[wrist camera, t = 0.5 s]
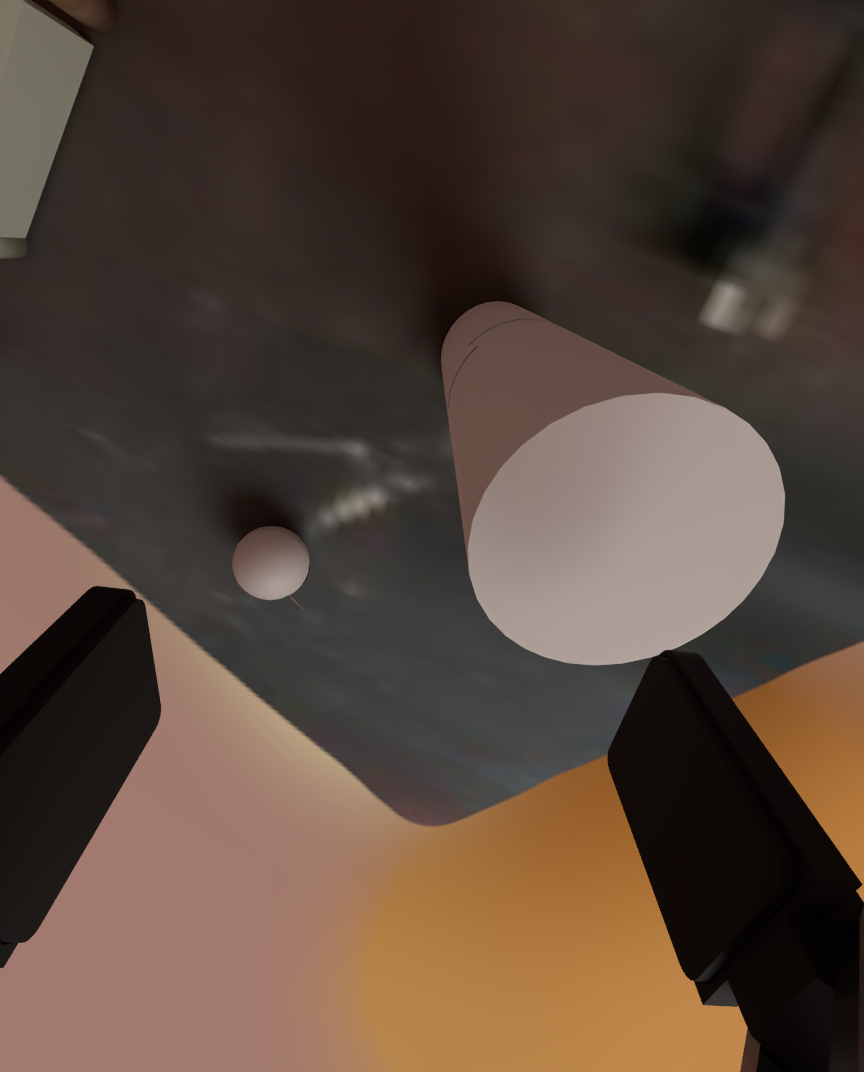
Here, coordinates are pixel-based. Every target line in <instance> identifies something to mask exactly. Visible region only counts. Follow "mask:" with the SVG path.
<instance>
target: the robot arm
mask: <svg viewBox="0 0 864 1072" xmlns="http://www.w3.org/2000/svg"><path fill="white" fill-rule="evenodd" d="M160 715H161V703H160V697H159V690H158V684H157V677H156V671H155V665H154V658H153V652H152V646H151V639H150V633H149V626H148V620H147V614H146V607H145V603H144V602H143V600H140V599H136V596H135V594H134V592H133V591H131V590H128V589H119V588H110V587H101V586H95V587H92V588H91V589H89V590H88V591H87V592H86V593H85V594H83V595H82V596H81V597H80V598H79V599H78V600H77V601H76V602H75V603H74V604H73V605H72V606H71V607H70V608H69V609H68V610H67V611H66V612H65V613H64V614H63V615H62V616H61V617H60V618H58V619H57V620H56V621H55V622H54V623H53V624H52V625H51V626H50V627H49V628H48V629H47V630H46V631H45V632H44V633H43V634H42V635H41V636H40V637H39V638H38V639H37V640H36V641H34V642H33V643H32V644H31V645H30V646H29V647H28V648H27V649H26V650H25V651H24V652H23V653H22V654H21V655H20V656H19V657H18V658H17V659H16V660H15V661H14V662H12V663H11V664H10V665H9V666H8V667H7V668H6V669H5V670H4V671H3V672H2V673H1V674H0V968H3V967H4V966H5V964H6V963H7V961H8V959H9V958H10V956H11V954H12V953H13V951H14V949H15V948H16V946H17V944H18V943H23V942H26V941H28V940H29V939H30V938H31V937H32V936H33V935H34V934H35V933H36V931H37V930H38V928H39V927H40V925H41V923H42V922H43V920H44V918H45V917H46V915H47V913H48V911H49V910H50V908H51V906H52V905H53V903H54V901H55V899H56V898H57V896H58V894H59V893H60V891H61V889H62V888H63V885H64V884H65V882H66V881H67V879H68V877H69V876H70V874H71V872H72V870H73V869H74V867H75V865H76V864H77V862H78V860H79V858H80V857H81V855H82V853H83V852H84V850H85V848H86V847H87V845H88V843H89V841H90V840H91V838H92V836H93V835H94V833H95V831H96V830H97V828H98V826H99V824H100V823H101V821H102V819H103V818H104V816H105V814H106V812H107V811H108V809H109V807H110V805H111V804H112V802H113V800H114V799H115V797H116V795H117V794H118V792H119V790H120V788H121V787H122V785H123V783H124V782H125V780H126V778H127V777H128V775H129V773H130V771H131V770H132V768H133V766H134V765H135V763H136V761H137V760H138V758H139V756H140V754H141V753H142V751H143V749H144V747H145V746H146V744H147V742H148V741H149V739H150V737H151V736H152V734H153V732H154V730H155V729H156V727H157V725H158V722H159V719H160ZM608 766H609V770H610V773H611V776H612V778H613V781H614V784H615V787H616V790H617V792H618V795H619V798H620V801H621V803H622V806H623V809H624V812H625V814H626V817H627V820H628V823H629V825H630V828H631V831H632V834H633V837H634V839H635V842H636V845H637V848H638V850H639V853H640V856H641V859H642V861H643V864H644V867H645V870H646V872H647V875H648V878H649V881H650V883H651V886H652V889H653V892H654V894H655V897H656V900H657V903H658V905H659V908H660V911H661V913H662V916H663V919H664V922H665V924H666V927H667V930H668V933H669V936H670V939H671V941H672V944H673V947H674V949H675V952H676V955H677V958H678V961H679V963H680V965H681V968H682V970H683V972H684V973H685V975H686V976H687V977H688V978H689V979H690V980H693V981H694V982H695V985H696V987H697V990H698V993H699V996H700V998H701V1001H702V1003H703V1005H714V1006H735V1007H737V1006H739V1008H740V1010H741V1013H742V1015H743V1018H744V1020H745V1023H746V1025H747V1027H748V1029H747V1035H746V1041H745V1047H744V1052H743V1059H742V1065H741V1071H740V1072H864V902H863V901H862V899H861V898H860V896H859V895H858V893H857V892H856V890H857V889H859V888H860V887H861V886H862V883H861V882H860V881H859V879H858V878H857V876H856V875H855V874H854V872H853V871H852V869H851V868H850V866H849V865H848V864H847V862H846V861H845V859H844V858H843V856H842V855H841V854H840V852H839V851H838V849H837V848H836V846H835V845H834V844H833V842H832V841H831V839H830V838H829V837H828V835H827V834H826V832H825V831H824V830H823V828H822V827H821V825H820V824H819V823H818V821H817V820H816V818H815V817H814V815H813V814H812V812H811V811H810V810H809V809H808V807H807V805H806V804H805V802H804V801H803V800H802V798H801V797H800V795H799V794H798V793H797V791H796V790H795V788H794V787H793V785H792V784H791V783H790V781H789V780H788V778H787V777H786V776H785V774H784V773H783V771H782V770H781V768H780V767H779V766H778V764H777V763H776V761H775V760H774V759H773V757H772V756H771V754H770V753H769V752H768V750H767V749H766V747H765V746H764V744H763V743H762V742H761V740H760V739H759V737H758V736H757V734H756V733H755V732H754V730H753V729H752V727H751V726H750V724H749V723H748V722H747V720H746V719H745V717H744V716H743V715H742V713H741V712H740V710H739V709H738V708H737V706H736V705H735V703H734V702H733V700H732V699H731V697H730V696H729V695H728V693H727V692H726V690H725V689H724V688H723V686H722V685H721V683H720V682H719V680H718V679H717V678H716V676H715V675H714V673H713V672H712V671H711V669H710V668H709V666H708V665H707V663H706V662H705V661H704V659H703V658H702V657H701V656H700V655H699V654H697V653H692V652H683V651H674V650H664V651H663V652H661V654H660V655H659V656H656V657H654V658H652V660H651V661H650V663H649V665H648V667H647V669H646V671H645V674H644V676H643V678H642V680H641V682H640V684H639V686H638V688H637V690H636V693H635V695H634V697H633V699H632V701H631V703H630V705H629V707H628V710H627V712H626V714H625V716H624V718H623V720H622V722H621V724H620V727H619V729H618V731H617V733H616V735H615V737H614V739H613V741H612V743H611V746H610V748H609V751H608Z"/></svg>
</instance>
